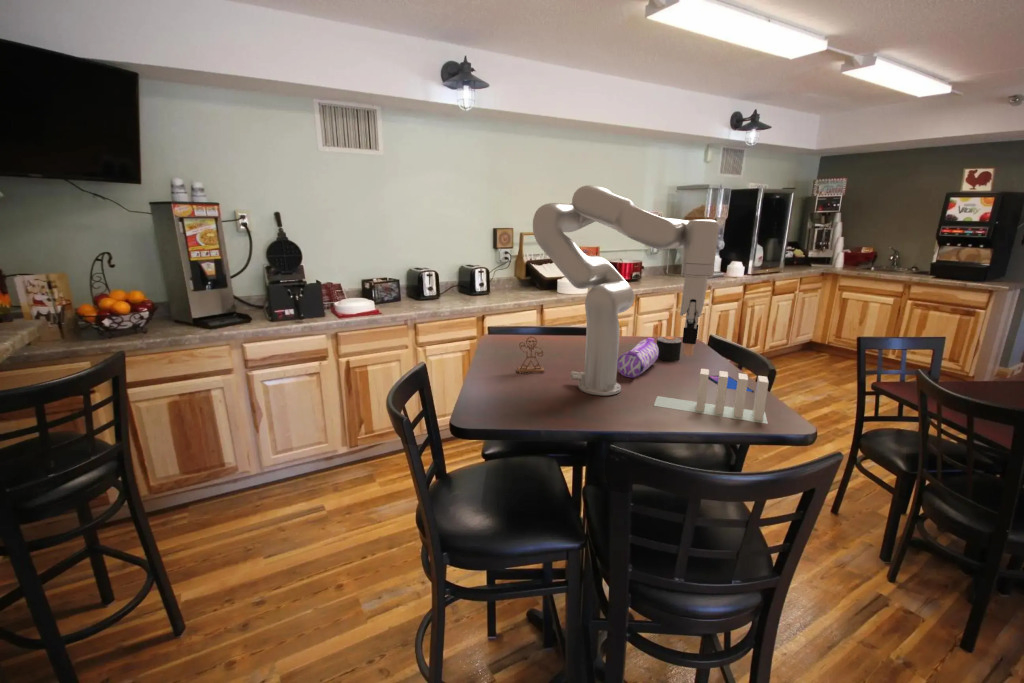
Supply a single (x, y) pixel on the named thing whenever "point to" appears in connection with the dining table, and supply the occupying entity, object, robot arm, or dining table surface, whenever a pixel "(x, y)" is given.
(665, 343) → the sushi
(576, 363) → the dining table surface
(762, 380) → the domino
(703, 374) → the domino
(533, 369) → the gingerbread man figurine
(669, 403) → the board
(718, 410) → the domino
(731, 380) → the smartphone
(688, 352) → the domino
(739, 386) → the domino
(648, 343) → the pencil case
